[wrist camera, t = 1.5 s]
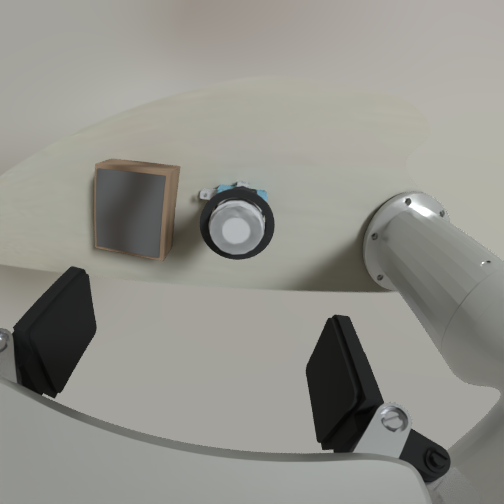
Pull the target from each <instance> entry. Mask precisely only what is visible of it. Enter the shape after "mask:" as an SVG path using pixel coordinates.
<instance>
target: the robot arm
mask: <svg viewBox="0 0 504 504" xmlns="http://www.w3.org/2000/svg"><path fill="white" fill-rule="evenodd" d="M405 200H406V201H405ZM373 233H374V234H373ZM372 234H373V235H372ZM363 259H364V264H365V266H366V269H367V271H368V272H369V274H370V276H371V277H372V278H373V280H374V281H375V282H376V283H377V284H379V285H380V286H381V287H383V288H386V289H388V290H393V291H398V292H399V293H400V294H401V296H402V297H403V299H404V300H405V301H406V303H407V304H408V306H409V307H410V308H411V310H412V311H413V313H414V314H415V315H416V317H417V318H418V320H419V321H420V323H421V324H422V326H423V327H424V328H425V330H426V332H427V333H428V334H429V336H430V338H431V339H432V341H433V342H434V344H435V346H436V347H437V349H438V350H439V352H440V353H441V355H442V356H443V358H444V359H445V361H446V363H447V364H448V366H449V367H450V369H451V370H452V371H453V373H454V374H455V375H456V376H457V377H458V378H459V379H461V380H462V381H464V382H466V383H468V384H472V385H478V386H488V387H493V388H496V389H498V390H499V391H500V393H501V396H500V399H499V400H498V402H497V403H496V404H495V405H494V406H493V408H492V409H491V410H490V411H489V412H488V414H487V415H486V416H485V417H484V418H483V419H482V420H481V421H480V422H479V423H477V424H476V425H475V426H474V427H473V428H472V429H471V430H470V431H469V432H468V433H466V434H465V435H464V436H463V437H462V438H461V439H460V440H458V441H457V442H456V443H455V444H454V445H453V446H452V447H450V448H449V449H448V450H447V451H446V450H445V449H444V448H443V447H441V446H440V445H438V444H436V443H435V442H433V441H431V440H429V439H428V438H426V437H424V436H423V435H421V434H420V433H418V432H416V431H415V430H413V429H411V426H412V419H411V416H410V414H409V412H408V411H407V410H406V409H405V408H404V407H402V406H401V405H399V404H396V403H391V402H389V403H384V401H383V399H382V396H381V393H380V391H379V388H378V385H377V382H376V380H375V377H374V375H373V372H372V369H371V367H370V365H369V362H368V359H367V357H366V354H365V353H364V351H363V348H362V346H361V344H360V341H359V339H358V336H357V334H356V331H355V329H354V327H353V324H352V322H351V320H350V318H349V317H348V316H342V315H334V316H333V317H332V318H328V320H327V322H326V324H325V326H324V329H323V331H322V333H321V336H320V338H319V340H318V342H317V345H316V347H315V349H314V351H313V354H312V355H311V357H310V359H309V362H308V364H307V367H306V376H307V382H308V387H309V394H310V400H311V406H312V412H313V419H314V425H315V431H316V437H317V441H318V442H319V443H321V445H322V450H329V449H333V450H334V453H316V454H315V453H313V454H296V453H294V454H293V453H265V452H250V451H239V450H230V449H222V448H214V447H208V446H200V445H195V444H189V443H184V442H179V441H174V440H170V439H165V438H161V437H157V436H153V435H149V434H145V433H141V432H137V431H134V430H130V429H127V428H124V427H120V426H117V425H114V424H111V423H108V422H105V421H102V420H99V419H97V418H94V417H91V416H88V415H86V414H83V413H80V412H78V411H76V410H73V409H71V408H69V407H66V406H64V405H62V404H59V403H57V402H55V401H53V400H50V399H48V398H46V397H44V396H42V394H43V393H44V394H46V395H48V396H50V397H52V398H55V397H56V395H57V393H61V392H62V390H63V389H64V386H65V385H66V383H67V381H68V379H69V377H70V376H71V374H72V372H73V370H74V369H75V367H76V365H77V363H78V362H79V360H80V358H81V356H82V355H83V353H84V351H85V350H86V348H87V346H88V345H89V343H90V342H91V340H92V338H93V337H94V335H95V333H96V321H95V315H94V309H93V303H92V296H91V289H90V281H89V275H88V274H86V271H85V270H84V269H81V268H77V267H70V268H69V269H68V270H67V271H66V272H65V273H64V274H63V275H62V276H61V277H60V278H59V279H58V280H57V281H56V282H55V283H54V284H53V285H52V286H51V287H50V288H49V289H48V290H47V291H46V292H45V293H44V294H43V295H42V296H41V297H40V298H39V299H38V300H37V301H36V302H35V303H34V304H33V306H32V307H31V308H30V309H29V310H28V311H27V312H26V313H25V314H24V316H23V317H22V318H21V319H20V320H19V321H18V323H16V325H15V326H14V327H13V328H14V332H13V333H12V334H11V332H10V331H8V330H7V329H3V328H0V504H504V261H503V260H502V259H501V258H499V257H498V256H497V255H495V254H494V253H493V252H491V251H490V250H489V249H488V248H486V247H485V246H483V245H482V244H481V243H479V242H478V241H476V240H475V239H474V238H472V237H471V236H469V235H468V234H466V233H465V232H463V231H462V230H461V229H459V228H457V227H456V226H454V225H453V224H451V223H450V218H449V215H448V213H447V211H446V209H445V208H444V206H443V205H442V204H441V203H440V202H439V201H438V200H437V199H436V198H433V197H432V196H430V195H428V194H425V193H423V192H416V191H413V192H405V193H402V194H400V195H397V196H395V197H393V198H392V199H390V200H388V201H387V202H386V203H385V204H384V205H383V206H382V207H381V208H380V209H379V210H378V211H377V213H376V214H375V215H374V216H373V218H372V220H371V222H370V223H369V225H368V228H367V231H366V233H365V237H364V242H363Z"/></svg>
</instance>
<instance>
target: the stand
mask: <svg viewBox="0 0 504 504" xmlns="http://www.w3.org/2000/svg"><path fill="white" fill-rule="evenodd" d="M179 173H180V166H173V165H165V164H157V163H148V162H139V161H129V160H118V159H109V160H106V161H103V162H100V163H97V164H95V186H94V226H95V248H100V249H105V250H110V251H115V252H120V253H125V254H130V255H135V256H140V257H145V258H150V259H155V260H161V261H163V260H164V259H165V257H166V256H167V254H168V252H169V251H170V249H171V247H172V239H173V228H174V217H175V207H176V197H177V189H178V180H179Z"/></svg>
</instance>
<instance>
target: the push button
mask: <svg viewBox="0 0 504 504" xmlns="http://www.w3.org/2000/svg"><path fill="white" fill-rule="evenodd" d="M248 187H249V183H248V182H242V181H238V183H237V187H235V186H227V185H220V186H219V187H218V189H213V190H210V189H202V191H201V192H200V198H201V199H207V200H209V201H208V202H207V204H206V205H205V207H204V209H203V211H202V214H201V218H200V230H201V234H202V237H203V239H204V241H205V242H206V244H207V245H208V246H209V248H210V249H212V250H213V251H214V252H215V253H217V254H218V255H220V256H223V257H225V258H229V259H236V260H239V259H247V258H250V257H253V256H255V255H257V254H259V253H260V252H261V251H263V250H264V249H265V248H266V247H267V245H268V244H269V242H270V241H271V239H272V236H273V233H274V217H273V213H272V211H271V208H270V207H269V205H268V204H267V202H266V200H267V194H266V191H263V190H255V189H249V188H248ZM205 193H206V194H207V195H206V194H205ZM214 207H215V211H214V212H213V213H212V210H213V208H214ZM211 213H212V215H211ZM264 216H265V223H264V220H263V217H264Z"/></svg>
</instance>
